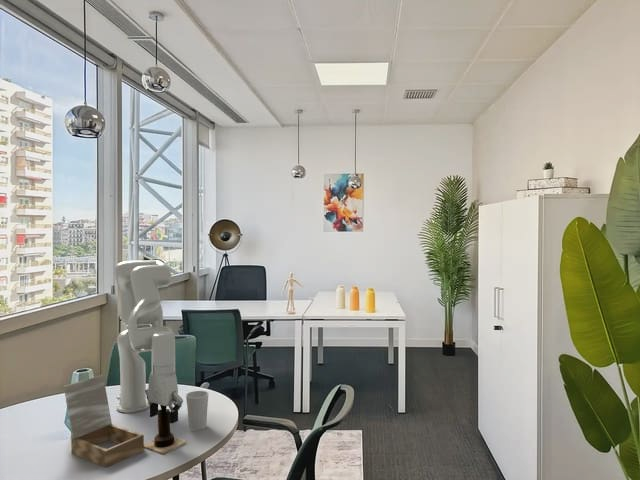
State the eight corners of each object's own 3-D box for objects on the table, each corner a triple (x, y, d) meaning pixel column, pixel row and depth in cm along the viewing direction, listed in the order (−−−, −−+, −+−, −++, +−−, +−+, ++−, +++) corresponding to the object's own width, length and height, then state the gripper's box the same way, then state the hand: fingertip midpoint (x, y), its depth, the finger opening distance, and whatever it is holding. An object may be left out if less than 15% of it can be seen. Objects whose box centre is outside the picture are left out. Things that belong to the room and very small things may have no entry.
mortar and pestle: (156, 439, 175) (155, 387, 174) (176, 438, 176) (175, 386, 175) (152, 448, 168) (151, 394, 168) (172, 447, 169) (171, 393, 168)
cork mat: (142, 447, 170) (142, 445, 170) (166, 436, 179) (166, 434, 179) (163, 454, 165) (162, 452, 165) (186, 443, 174) (186, 441, 174)
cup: (203, 432, 183) (202, 398, 182) (182, 430, 184) (182, 397, 184) (212, 423, 191) (211, 391, 190) (192, 421, 192) (191, 390, 192)
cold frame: (64, 450, 168) (63, 385, 167) (102, 435, 180) (101, 374, 179) (106, 467, 157) (104, 397, 156) (143, 449, 169) (143, 385, 168)
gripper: (137, 367, 173) (137, 417, 174) (172, 376, 163) (172, 429, 164) (155, 361, 179) (155, 409, 180) (190, 370, 170) (190, 421, 171)
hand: (163, 419), depth 172 cm, fingers open, 9 cm apart
